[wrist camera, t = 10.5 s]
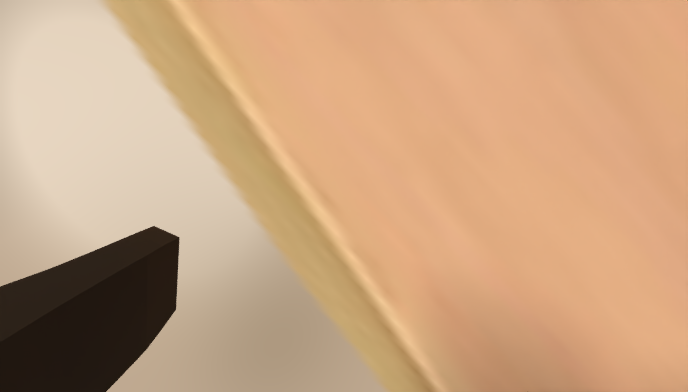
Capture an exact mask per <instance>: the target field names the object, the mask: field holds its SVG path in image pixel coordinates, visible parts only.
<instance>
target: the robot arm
mask: <svg viewBox="0 0 688 392" xmlns="http://www.w3.org/2000/svg"><path fill="white" fill-rule="evenodd" d="M178 255H179V237H177V236H175V235H173V234H171V233H168V232H166V231H164V230H162V229H159V228H157V227H155V226H153V227H150V228H148V229H145V230H143V231H140V232H138V233H135V234H133V235H131V236H128V237H126V238H124V239H121V240H119V241H116V242H114V243H112V244H109V245H107V246H105V247H102V248H100V249H97V250H95V251H93V252H90V253H88V254H85V255H83V256H81V257H78V258H75V259H73V260H71V261H68V262H66V263H63V264H61V265H58V266H56V267H53V268H51V269H48V270H45V271H43V272H40V273H37V274H34V275H32V276H29V277H26V278H23V279H20V280H18V281H15V282H12V283H9V284H6V285H3V286H1V287H0V392H106V391H107V390H108V389H109V388H110V387H111V386H112V385H113V384H114V383H115V382H116V381H117V380H118V379H119V378H120V377H121V376H122V375H123V374H124V373H125V371H126V370H127V369H128V368H129V367H130V366H131V365H132V364H133V363H134V362H135V361H136V360H137V359H138V358H139V357H140V356H141V355H142V354H143V352H144V351H145V350H146V349H147V348H148V347H149V345H150V344H151V343H152V341H153V340H154V339H155V337H156V336H157V335H158V334H159V332H160V331H161V330H162V328H163V327H164V325H165V324H166V322H167V321H168V320H169V318H170V317H171V315H172V314H173V313H174V311H175V310H176V296H177V276H178V275H177V274H178Z"/></svg>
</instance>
